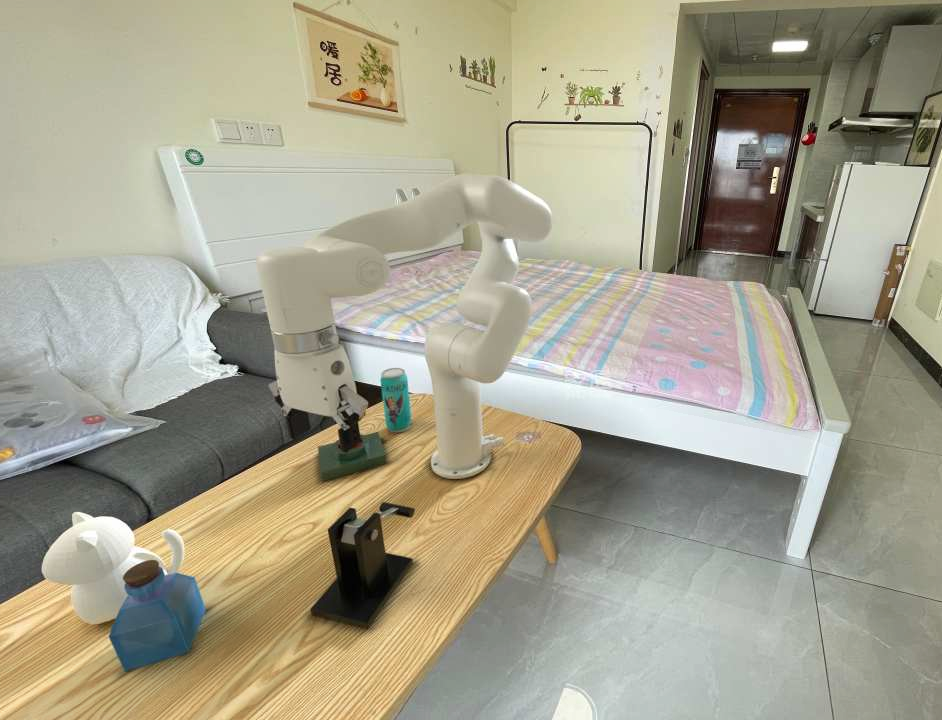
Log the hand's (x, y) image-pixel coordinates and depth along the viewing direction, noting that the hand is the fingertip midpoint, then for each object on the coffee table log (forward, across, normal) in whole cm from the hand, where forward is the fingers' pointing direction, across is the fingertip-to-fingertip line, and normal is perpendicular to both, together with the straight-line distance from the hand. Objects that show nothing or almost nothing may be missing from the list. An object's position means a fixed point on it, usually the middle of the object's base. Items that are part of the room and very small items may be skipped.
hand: (325, 440), depth 67 cm
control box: (+20, +16, -18) cm, 31 cm away
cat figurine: (+20, +20, +18) cm, 33 cm away
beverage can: (+21, +15, -32) cm, 41 cm away
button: (+17, +16, -18) cm, 29 cm away
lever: (+12, -9, +2) cm, 16 cm away
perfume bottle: (+20, +9, +20) cm, 30 cm away
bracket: (+20, -10, +6) cm, 23 cm away
